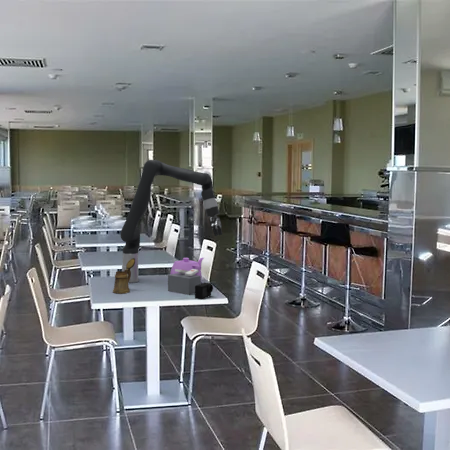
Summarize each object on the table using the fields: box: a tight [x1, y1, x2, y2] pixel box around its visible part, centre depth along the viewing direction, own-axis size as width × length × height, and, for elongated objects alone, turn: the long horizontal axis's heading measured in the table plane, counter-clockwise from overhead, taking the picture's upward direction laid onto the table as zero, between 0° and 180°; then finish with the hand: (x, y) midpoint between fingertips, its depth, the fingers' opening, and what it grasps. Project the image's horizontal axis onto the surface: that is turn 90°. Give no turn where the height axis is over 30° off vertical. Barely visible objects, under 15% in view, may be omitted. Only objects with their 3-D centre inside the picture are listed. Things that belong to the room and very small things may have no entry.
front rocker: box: [185, 269, 199, 276], centre depth 323 cm, size 7×4×2 cm, turn 144°
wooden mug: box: [112, 258, 135, 295], centre depth 321 cm, size 9×14×18 cm, turn 137°
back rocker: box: [175, 269, 188, 274], centre depth 327 cm, size 7×4×2 cm, turn 144°
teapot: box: [169, 257, 205, 279], centre depth 349 cm, size 23×21×15 cm
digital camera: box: [194, 282, 214, 300], centre depth 311 cm, size 10×5×7 cm, turn 153°
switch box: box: [167, 273, 202, 296], centre depth 324 cm, size 10×15×9 cm, turn 54°
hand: (218, 235), depth 327 cm, fingers open, 8 cm apart
